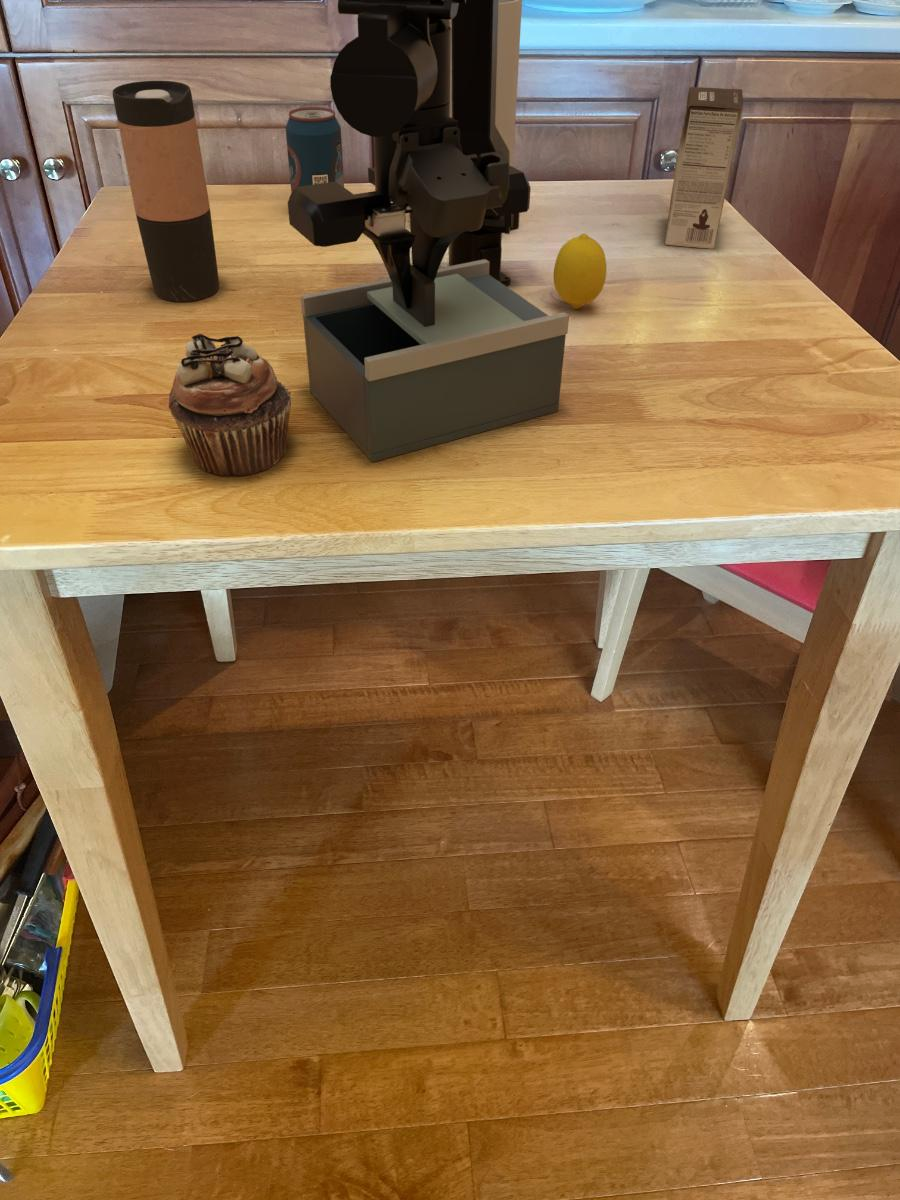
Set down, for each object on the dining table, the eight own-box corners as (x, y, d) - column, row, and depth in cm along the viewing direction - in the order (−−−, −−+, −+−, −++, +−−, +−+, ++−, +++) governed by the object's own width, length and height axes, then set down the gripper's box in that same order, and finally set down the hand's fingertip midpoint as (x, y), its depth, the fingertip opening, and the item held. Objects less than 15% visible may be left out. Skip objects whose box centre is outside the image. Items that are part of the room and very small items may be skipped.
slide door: (366, 298, 82) (364, 250, 79) (457, 279, 85) (458, 233, 83) (427, 350, 74) (427, 300, 72) (524, 328, 78) (527, 279, 75)
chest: (309, 391, 86) (300, 295, 80) (481, 350, 93) (485, 258, 87) (373, 463, 77) (368, 361, 71) (559, 412, 84) (569, 315, 78)
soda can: (290, 205, 125) (281, 106, 117) (341, 201, 126) (335, 104, 118) (296, 222, 120) (287, 121, 112) (349, 218, 121) (344, 118, 113)
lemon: (606, 302, 102) (615, 228, 97) (595, 322, 98) (604, 247, 93) (557, 295, 103) (564, 222, 98) (544, 314, 99) (551, 239, 94)
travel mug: (157, 276, 106) (118, 80, 93) (225, 275, 106) (196, 79, 93) (146, 304, 100) (103, 99, 87) (218, 302, 101) (186, 98, 87)
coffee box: (665, 220, 122) (688, 84, 112) (715, 225, 121) (742, 88, 111) (663, 245, 115) (687, 103, 105) (716, 250, 114) (745, 107, 104)
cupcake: (301, 476, 75) (289, 362, 69) (179, 488, 74) (154, 374, 67) (291, 417, 82) (279, 309, 76) (180, 427, 81) (158, 318, 74)
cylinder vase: (511, 240, 116) (524, 6, 99) (411, 239, 116) (408, 4, 99) (508, 207, 125) (519, -12, 109) (416, 205, 125) (413, -14, 109)
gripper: (337, 143, 59) (350, 368, 69) (579, 112, 66) (558, 321, 76) (275, 104, 66) (295, 312, 77) (498, 79, 73) (490, 273, 83)
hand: (413, 305), depth 78 cm, fingers closed on slide door
